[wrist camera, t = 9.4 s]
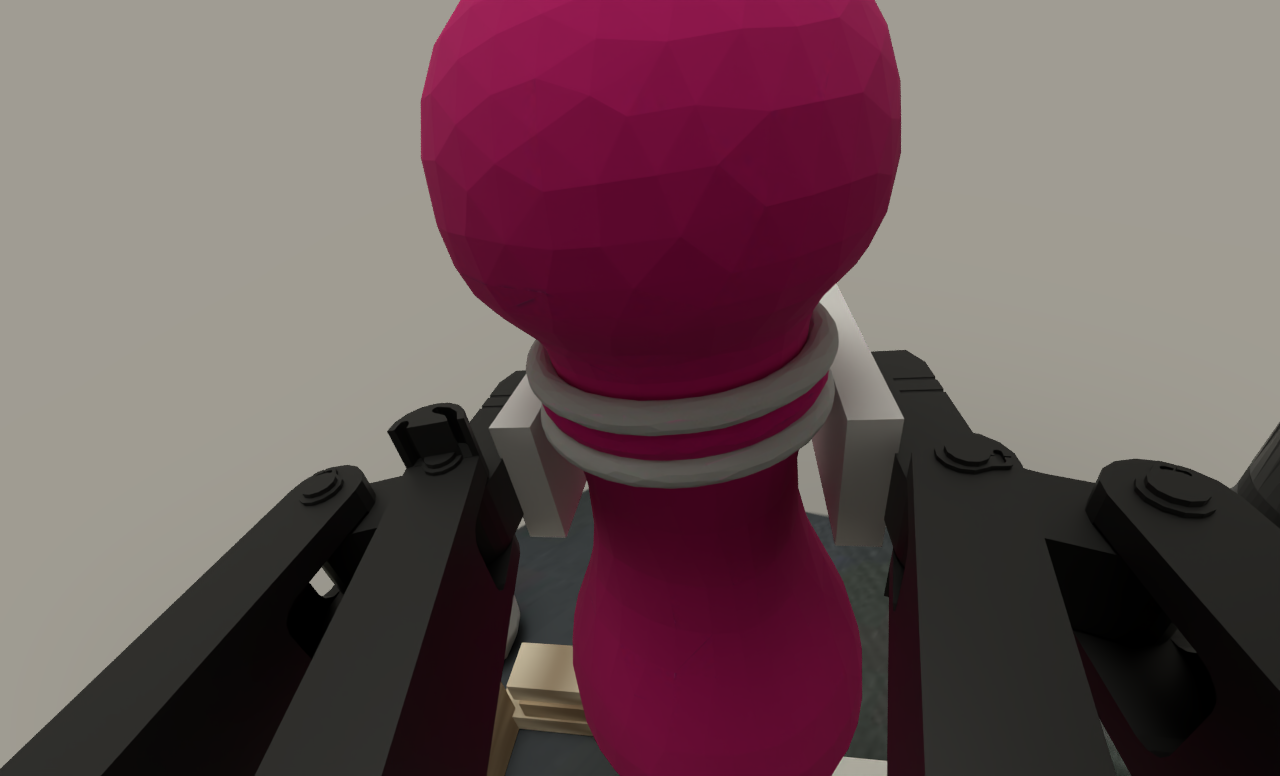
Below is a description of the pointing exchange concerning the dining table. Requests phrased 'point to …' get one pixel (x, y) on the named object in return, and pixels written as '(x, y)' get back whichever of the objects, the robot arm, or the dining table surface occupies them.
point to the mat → (860, 767)
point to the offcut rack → (537, 700)
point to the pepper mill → (679, 333)
